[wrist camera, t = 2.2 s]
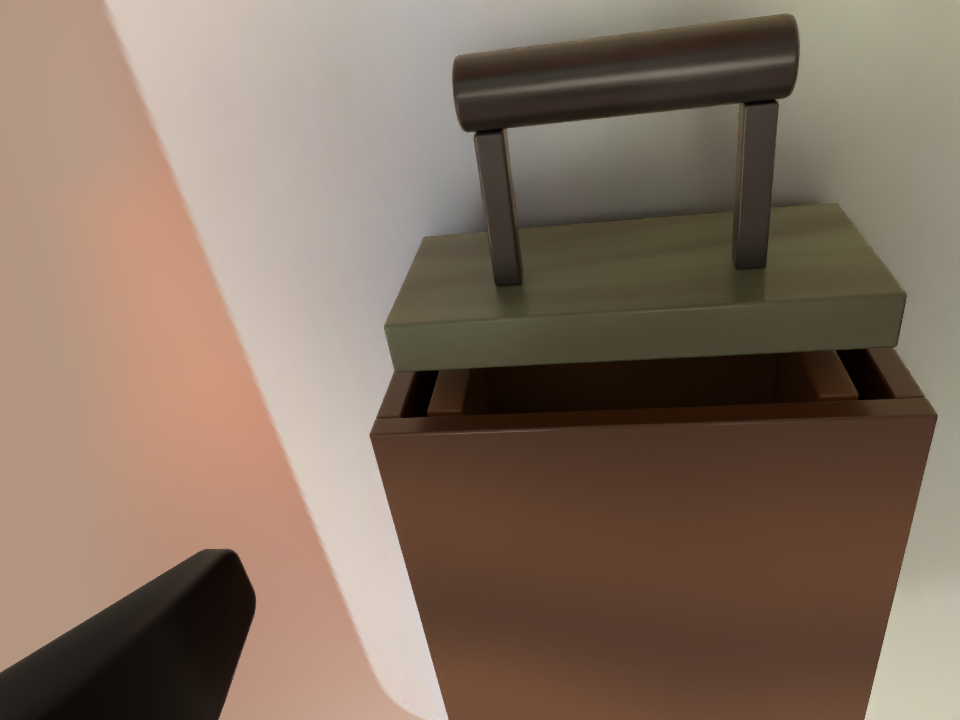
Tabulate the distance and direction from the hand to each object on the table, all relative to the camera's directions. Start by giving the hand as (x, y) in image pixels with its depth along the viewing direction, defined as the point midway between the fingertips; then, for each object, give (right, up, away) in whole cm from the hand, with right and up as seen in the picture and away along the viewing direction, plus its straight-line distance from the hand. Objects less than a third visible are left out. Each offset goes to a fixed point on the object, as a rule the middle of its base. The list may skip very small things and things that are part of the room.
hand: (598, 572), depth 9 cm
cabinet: (+3, -1, +15) cm, 15 cm away
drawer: (+3, +3, +12) cm, 12 cm away
